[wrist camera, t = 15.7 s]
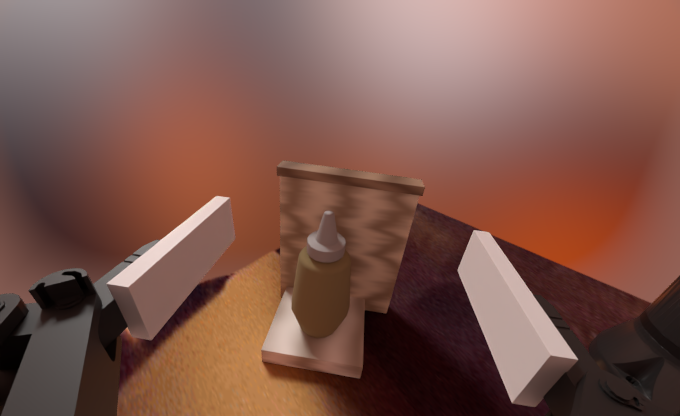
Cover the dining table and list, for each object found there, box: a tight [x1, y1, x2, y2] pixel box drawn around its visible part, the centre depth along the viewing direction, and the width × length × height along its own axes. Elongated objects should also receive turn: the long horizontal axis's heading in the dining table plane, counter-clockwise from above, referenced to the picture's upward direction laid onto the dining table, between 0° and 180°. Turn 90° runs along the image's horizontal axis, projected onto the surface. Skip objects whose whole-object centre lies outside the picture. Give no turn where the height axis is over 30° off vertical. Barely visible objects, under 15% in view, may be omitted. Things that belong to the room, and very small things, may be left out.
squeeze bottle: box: [291, 211, 351, 338], centre depth 33 cm, size 8×8×18 cm
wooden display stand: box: [261, 161, 425, 379], centre depth 34 cm, size 19×13×23 cm
